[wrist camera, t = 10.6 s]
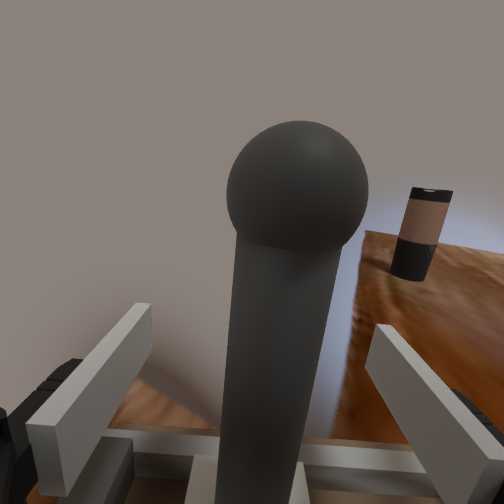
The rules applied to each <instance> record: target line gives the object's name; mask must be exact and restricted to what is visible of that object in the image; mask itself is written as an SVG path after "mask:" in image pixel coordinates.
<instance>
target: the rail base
mask: <svg viewBox="0 0 504 504" xmlns="http://www.w3.org/2000/svg"><path fill="white" fill-rule="evenodd" d="M219 441H220V430H211V429H198V428H185V427H172V426H159V425H146V424H133V423H120V422H119V424H118V425H117V427H116V429H108V428H106V430H105V432H104V433H103V435H102V437H101V439H100V440H99V442H98V444H97V445H96V447H95V449H94V451H93V452H92V454H91V456H90V458H89V459H88V461H87V463H86V464H85V466H84V468H83V470H82V471H81V473H80V475H79V477H78V478H77V480H76V482H75V483H74V485H73V487H72V489H71V490H70V492H69V494H68V496H67V497H59V498H58V500H57V502H56V503H55V504H184V503H185V498H186V493H187V488H188V484H189V479H190V474H191V469H192V464H193V460H194V455H195V454H201V455H214V456H218V453H219ZM297 462H303V465H304V471H305V477H306V482H307V488H308V494H309V500H310V504H444V502H443V501H442V499H441V497H440V495H439V494H438V492H437V490H436V489H435V487H434V485H433V483H432V482H431V480H430V478H429V477H428V475H427V473H426V471H425V470H424V468H423V466H422V465H421V463H420V461H419V459H418V458H417V456H416V454H415V453H414V451H413V449H412V448H411V446H410V445H405V444H392V443H379V442H366V441H353V440H340V439H327V438H313V437H302V442H301V447H300V452H299V457H298V461H297Z"/></svg>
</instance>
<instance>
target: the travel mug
mask: <svg viewBox="0 0 504 504" xmlns="http://www.w3.org/2000/svg"><path fill="white" fill-rule="evenodd" d="M452 194H453V191H449V190H434V189H424V188H416V187H412V190H411V193H410V197H409V200H408V204H407V207H406V211H405V214H404V218H403V222H402V225H401V229H400V232H399V236H398V240H397V244H396V248H395V252H394V257H393V261H392V265H391V270H390V272H391V273H392V274H393V275H395V276H397V277H399V278H403V279H406V280H411V281H423V280H424V279H425V276H426V274H427V271H428V268H429V265H430V263H431V260H432V257H433V254H434V252H435V249H436V246H437V243H438V240H439V236H440V233H441V230H442V227H443V223H444V220H445V217H446V214H447V210H448V207H449V204H450V201H451V197H452Z"/></svg>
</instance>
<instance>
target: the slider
mask: <svg viewBox="0 0 504 504" xmlns="http://www.w3.org/2000/svg"><path fill="white" fill-rule="evenodd" d="M367 201H368V179H367V174H366V170H365V166H364V164H363V162H362V160H361V157H360V156H359V154H358V153H357V151H356V149H355V148H354V147H353V146H352V144H351V143H350V142H349V141H348V140H347V139H346V138H345V137H344V136H342V135H341V134H340V133H338V132H336V131H335V130H333V129H332V128H330V127H327V126H325V125H322V124H319V123H315V122H309V121H290V122H286V123H281V124H278V125H275V126H272V127H270V128H268V129H266V130H264V131H263V132H261V133H259V134H258V135H257V136H255V137H254V138H253V139H252V140H251V141H250V142H249V143H248V144H247V145H246V146H245V147H244V148H243V150H242V151H241V152H240V153H239V155H238V157H237V158H236V160H235V162H234V164H233V166H232V169H231V171H230V175H229V178H228V184H227V208H228V212H229V216H230V219H231V221H232V224H233V226H234V228H235V230H236V231H237V238H236V250H235V262H234V274H233V286H232V299H231V311H230V322H229V334H228V346H227V359H226V370H225V381H224V394H223V405H222V417H221V429H220V441H219V453H218V456H214V455H201V454H195V455H194V460H193V464H192V469H191V474H190V479H189V484H188V488H187V493H186V498H185V503H184V504H310V500H309V494H308V488H307V482H306V477H305V471H304V465H303V462H297V461H298V457H299V452H300V447H301V442H302V437H303V432H304V428H305V422H306V417H307V413H308V409H309V404H310V399H311V394H312V389H313V385H314V380H315V375H316V370H317V365H318V360H319V356H320V351H321V346H322V341H323V336H324V332H325V327H326V322H327V317H328V313H329V308H330V303H331V298H332V293H333V288H334V283H335V279H336V274H337V269H338V265H339V260H340V255H341V250H342V246H343V245H344V244H345V243H347V241H348V240H349V239H350V238H351V237H352V236H353V234H354V233H355V231H356V230H357V228H358V227H359V225H360V223H361V221H362V218H363V216H364V213H365V210H366V207H367Z"/></svg>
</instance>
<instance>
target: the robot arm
mask: <svg viewBox="0 0 504 504" xmlns="http://www.w3.org/2000/svg"><path fill="white" fill-rule="evenodd" d="M151 350H152V312H151V304H146V303H135V305H134V306H133V307H132V308H131V309H130V310H129V311H128V312H127V313H126V314H125V316H124V317H123V318H122V319H121V320H120V321H119V322H118V323H117V324H116V325H115V326H114V327H113V329H112V330H111V331H110V332H109V333H108V334H107V335H106V336H105V337H104V339H102V341H101V342H100V343H99V344H98V345H97V346H96V347H95V348H94V349H93V351H92V352H91V353H90V354H89V355H88V356H87V357H86V358H85V359H71V360H69V361H68V362H66V363H64V364H63V365H61V366H59V367H58V368H57V369H56V370H55V371H54V372H53V373H52V374H51V375H50V376H49V377H48V378H47V379H46V381H44V382H42V383H41V384H40V386H38V387H37V389H36V391H33V392H32V393H31V394H30V395H29V396H28V397H27V398H26V399H25V400H24V401H23V402H22V403H21V404H20V405H19V406H18V407H17V408H16V409H15V410H14V411H13V412H12V413H11V414H10V415H9V416H8V417H7V414H6V410H4V409H2V408H1V407H0V504H27V502H26V497H27V496H28V494H29V493H30V491H31V490H32V489H33V487H34V486H35V484H36V483H38V488H39V493H40V495H43V496H57V497H67V496H68V494H69V492H70V490H71V489H72V487H73V485H74V483H75V482H76V480H77V478H78V477H79V475H80V473H81V471H82V470H83V468H84V466H85V464H86V463H87V461H88V459H89V458H90V456H91V454H92V452H93V451H94V449H95V447H96V445H97V444H98V442H99V440H100V439H101V437H102V435H103V433H104V432H105V430H106V428H107V426H108V425H109V423H110V421H111V420H112V418H113V416H114V414H115V413H116V411H117V409H118V407H119V406H120V404H121V402H122V401H123V399H124V397H125V395H126V394H127V392H128V390H129V388H130V387H131V385H132V383H133V382H134V380H135V378H136V376H137V375H138V373H139V371H140V369H141V368H142V366H143V364H144V363H145V361H146V359H147V357H148V356H149V354H150V352H151ZM365 369H366V370H367V372H368V374H369V376H370V377H371V379H372V381H373V382H374V384H375V386H376V388H377V389H378V391H379V393H380V394H381V396H382V398H383V400H384V401H385V403H386V405H387V406H388V408H389V410H390V412H391V413H392V415H393V417H394V418H395V420H396V422H397V424H398V425H399V427H400V429H401V430H402V432H403V434H404V436H405V437H406V439H407V441H408V442H409V444H410V446H411V448H412V449H413V451H414V453H415V454H416V456H417V458H418V459H419V461H420V463H421V465H422V466H423V468H424V470H425V471H426V473H427V475H428V477H429V478H430V480H431V482H432V483H433V485H434V487H435V489H436V490H437V492H438V494H439V495H440V497H441V499H442V501H443V502H444V504H504V435H503V434H502V433H501V432H500V431H499V430H498V429H497V428H496V427H495V426H493V423H492V422H491V421H490V420H489V419H488V418H487V417H486V416H484V415H483V414H482V412H481V411H480V410H479V409H478V408H477V407H476V406H475V405H474V404H473V403H472V402H471V401H470V400H469V399H468V398H466V397H465V396H463V395H462V394H461V393H459V392H458V391H457V390H455V389H449V388H448V387H447V386H446V384H445V383H444V382H443V381H442V380H441V379H440V378H439V377H438V376H437V375H436V374H435V373H434V371H433V370H432V369H431V368H430V367H429V366H428V365H427V364H426V363H425V362H424V361H423V360H422V358H421V357H420V356H419V355H418V354H417V353H416V352H415V351H414V350H413V349H412V348H411V347H410V345H409V344H408V343H407V342H406V341H405V340H404V339H403V338H402V337H401V336H400V335H399V334H398V332H397V331H396V330H395V329H394V328H393V327H392V326H391V325H382V324H376V328H375V331H374V335H373V339H372V342H371V346H370V350H369V353H368V357H367V361H366V364H365Z"/></svg>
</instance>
